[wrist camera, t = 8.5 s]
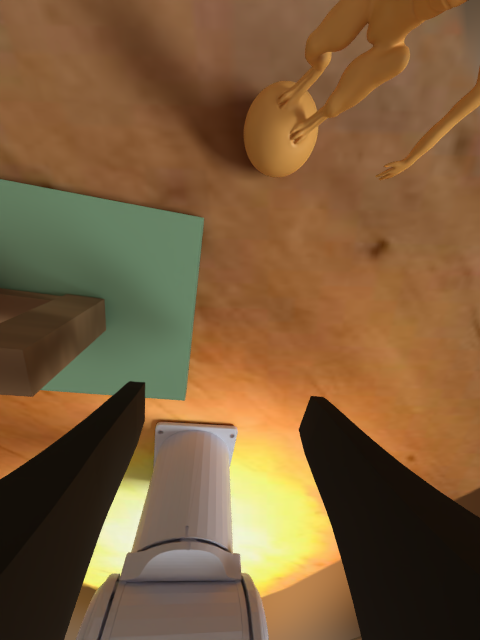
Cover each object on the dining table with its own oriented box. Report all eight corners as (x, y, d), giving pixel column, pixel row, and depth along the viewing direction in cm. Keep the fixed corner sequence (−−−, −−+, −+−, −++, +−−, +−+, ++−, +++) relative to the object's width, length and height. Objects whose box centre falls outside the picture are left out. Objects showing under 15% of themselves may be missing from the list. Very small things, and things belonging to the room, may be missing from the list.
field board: (186, 392, 21) (184, 400, 20) (-83, 371, 18) (-99, 379, 17) (204, 218, 15) (203, 217, 14) (-180, 145, 12) (-213, 138, 11)
